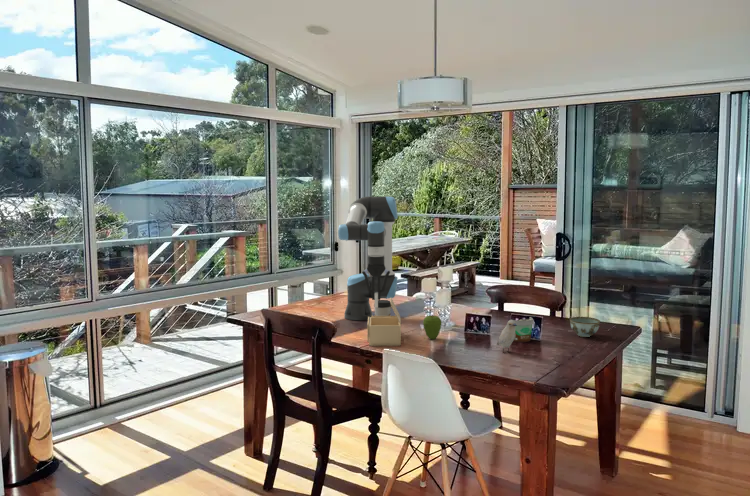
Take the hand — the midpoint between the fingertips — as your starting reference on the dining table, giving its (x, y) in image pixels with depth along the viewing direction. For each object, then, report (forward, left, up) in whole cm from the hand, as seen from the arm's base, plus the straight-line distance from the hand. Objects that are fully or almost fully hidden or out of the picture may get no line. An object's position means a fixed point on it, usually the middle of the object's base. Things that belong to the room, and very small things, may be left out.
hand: (376, 306), depth 284 cm
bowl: (-8, +98, -16) cm, 100 cm away
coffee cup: (-17, +3, -16) cm, 24 cm away
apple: (-3, +26, -16) cm, 31 cm away
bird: (+20, +56, -16) cm, 61 cm away
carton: (0, +4, -16) cm, 16 cm away
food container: (0, +68, -16) cm, 70 cm away
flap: (0, +11, -6) cm, 13 cm away
